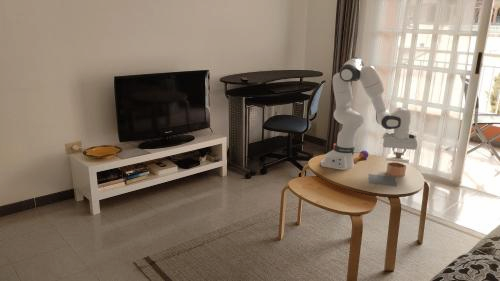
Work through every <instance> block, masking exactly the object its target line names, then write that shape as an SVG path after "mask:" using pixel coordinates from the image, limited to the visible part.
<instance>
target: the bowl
mask: <svg viewBox="0 0 500 281" xmlns="http://www.w3.org/2000/svg"><path fill="white" fill-rule="evenodd" d="M406 170H407V165H406V164H405V163H403V162H395V161H389V162H387V166H386V174H387V175H388V176H392V177H404V176H405V175H406V172H407V171H406Z"/></svg>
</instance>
